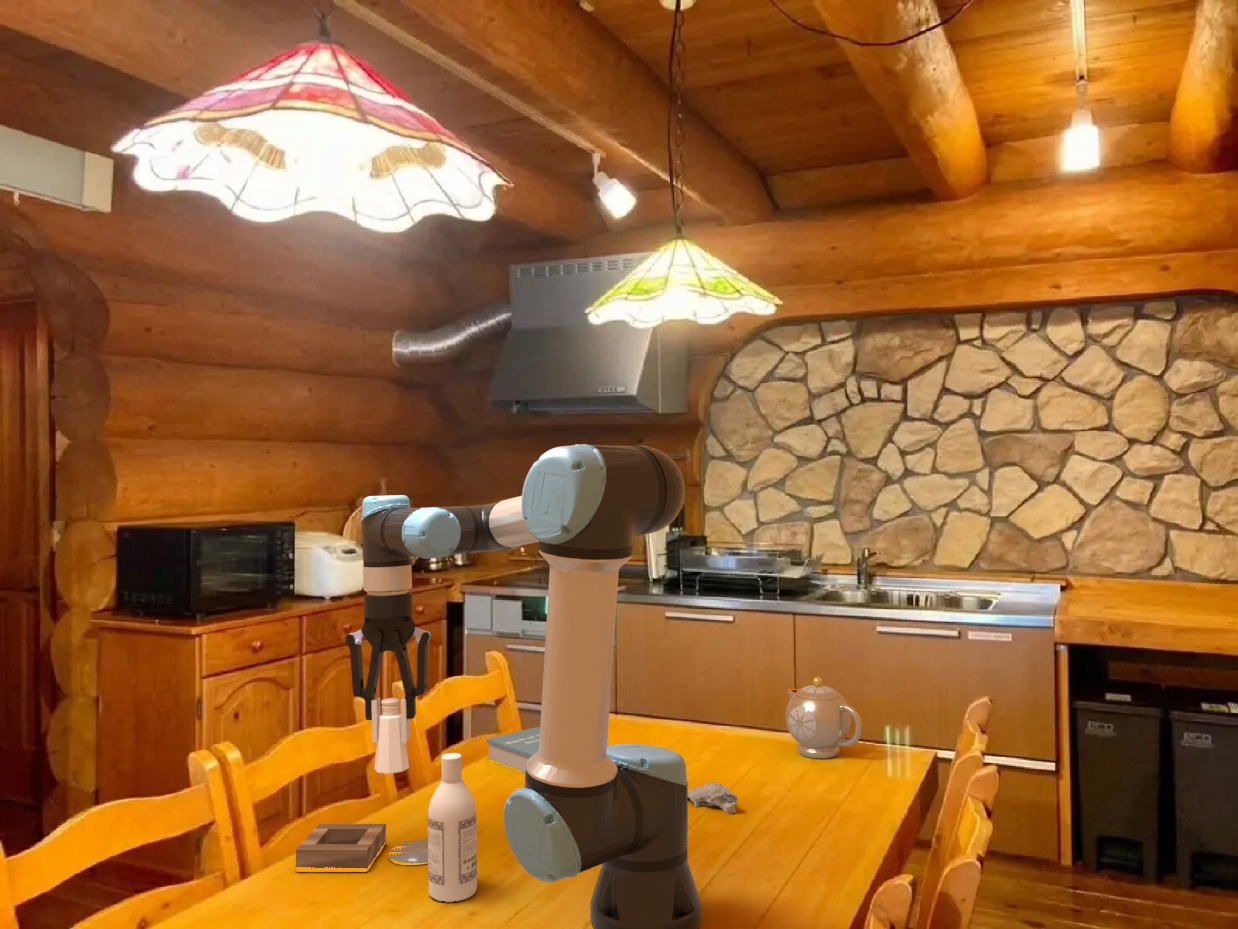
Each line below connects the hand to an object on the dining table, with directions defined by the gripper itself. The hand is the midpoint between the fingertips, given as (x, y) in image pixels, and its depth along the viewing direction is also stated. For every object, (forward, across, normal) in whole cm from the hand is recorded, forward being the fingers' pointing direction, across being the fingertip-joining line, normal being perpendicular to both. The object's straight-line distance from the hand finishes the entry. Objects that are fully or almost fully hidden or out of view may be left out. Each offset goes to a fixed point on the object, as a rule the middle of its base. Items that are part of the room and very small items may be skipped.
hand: (391, 739), depth 157 cm
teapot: (+19, -79, -52) cm, 97 cm away
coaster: (+19, -3, -1) cm, 19 cm away
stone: (+20, -52, -23) cm, 61 cm away
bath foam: (+19, -11, +13) cm, 26 cm away
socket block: (+19, +8, 0) cm, 20 cm away
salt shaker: (+5, 0, 0) cm, 5 cm away
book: (+19, -22, -48) cm, 56 cm away
